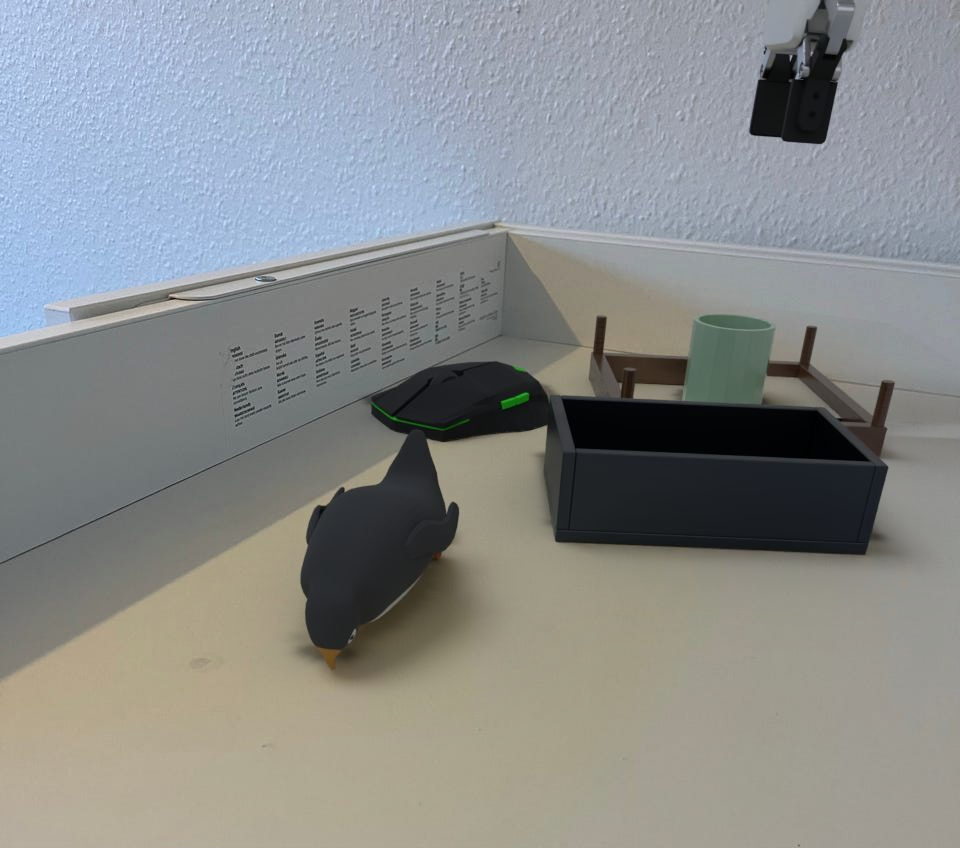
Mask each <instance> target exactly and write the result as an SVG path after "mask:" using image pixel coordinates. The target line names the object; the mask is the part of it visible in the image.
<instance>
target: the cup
mask: <svg viewBox="0 0 960 848" xmlns="http://www.w3.org/2000/svg"><path fill="white" fill-rule="evenodd" d="M692 322H693V323H692V327H691V336H690V341H689V342H690V343H689V350H688V355H687V356H688V362H687V368H686V375H685V382H684V385H683V389H682V396H681V401H698V402H720V403H741V404H762V403H763V398H764V393H765V387H766V382H767V377H768V376H767V372H768V366H769V361H770V360H771V355H772V349H773V345H774V339H775V335H776V334H775V333H776V328H777V325H776V324H775V323H774V322H772V321H770V320H767V319H763V318H760V317H756V316H750V315H743V314H735V313H706V314H699V315H696V316H695V317H694V318H693V321H692Z"/></svg>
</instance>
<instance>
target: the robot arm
mask: <svg viewBox="0 0 960 848" xmlns="http://www.w3.org/2000/svg"><path fill="white" fill-rule="evenodd" d="M867 4H868V0H767V3H766V10H765V15H764V22H763V31H762V43H763V45H764V50H763V55H764V56H763V58H762V62H761V64H760V67H759V72H758V79H757V83H756V87H755V94H754V95H755V96H754V100H753V105H752V111H751V117H750V122H749V127H748V132H749V135H751V136H753V137H765V138H767V137H768V138H778V139H779V138H780V139H781V140H782V141H783V142H786V143H797V144H809V145H811V144H812V145H823V144H824V143H825V142H826V140H827V137H828V132H829V127H830V123H831V118H832V115H833V114H832V113H833V108H834V103H835V98H836V95H837V90H838V86H839V85H838V84H839V80H840V78H841V74H842V69H843V55H844V54H846V53H849V52H851V51H852V50H853V49H854V48H855V47H856V46H857V45H858V43H859V41H860V40H861V39H860V38H861V34H862V31H863V25H864V19H865V14H866V13H865V12H866V9H867Z"/></svg>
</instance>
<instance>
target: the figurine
mask: <svg viewBox="0 0 960 848" xmlns="http://www.w3.org/2000/svg"><path fill="white" fill-rule="evenodd" d="M459 519H460V507H459V505H458V503H457V502H456V501H451V502H450V503H449V505H448V507H447V508H446V502H445V499H444V496H443V493H442V488H441V487H440V484H439V478H438V472H437V467H436V465H435V463H434V460H433V457H432V454H431V450H430V446H429V443H428V438H426V437H425V434H424V433H423V432H422V431H421V430H412V431H411V432H410V433H409V434H407V436H406V437H405V440H404V441H403V443H402V445H401V447H400V449H399V450H398V452H397V454H396V456H395V457H394V458H393V461H392V462H391V463H390V465H389V467H388V469H387V472H386V473H385V475H384V477H383V478H382V480H381V481H380V482H379V483H376V484H370V485H362V486H357V487H353V488H350V489H347V490H346V488H345V487H344V486H340V487H339V488H338V490H337V491H336V492H335V493H334V495H333V496H332V498H331V500H330V501H329V502H328V503H327V504H325V505H321V504H317V505H316V506H315V507H314V508H313V510H312V513H311V515H310V517H309V520H308V523H307V528H306V533H305V542H306V544H307V547H306V550H305V554H304V557H303V560H302V566H301V569H300V580H299V581H300V587H301V590H302V593H303V594H304V597H305V598H306V602H305V609H304V620H305V626H306V629H307V633H308V636H309V639H310V640H311V643H312V644H313V645H314V646H315V648H316V649H317V650H318V651H319V652H320V654H321V655H322V656H323V658H324V660H325V662H326V663H327V665H328V668H330V669H333V670H334V669H335V668H336V658H337V656H338V655H339V654H340V653H341V652H342V651H343V650H344V649H346V647H347V646H349V645H350V644H351V643H352V642H353V640H354V639H355V637H356V635H357V633H358V629H359V627H360V626H362V625H366V624H369V623H371V622H375V621H377V620H379V619H380V618H381V617H383V616H384V615H385V614H386V613H388V612H389V611H390V610H391V609H393V607H394V606H395V605H397V604H398V603H399V602H400V600H402V599H403V597H405V596H406V595H407V594H408V593H409V591H410V590H411V589H413V587H414V586H415V585H416V584H417V582H418V581H419V580H420V579H421V577H422V576H423V574H424V572H425V571H426V570H427V568H428V566H429V565H430V564H431V562H432V561H433V558H435V559H436V560H440V559H441V558H442V554H443V553H444V552H445V551H446V550H447V549H448V548H449V547H450V546H451V545H452V543H453V541H454V540H455V536H456V533H457V531H458V524H459Z"/></svg>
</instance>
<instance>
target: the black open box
mask: <svg viewBox="0 0 960 848" xmlns="http://www.w3.org/2000/svg"><path fill="white" fill-rule="evenodd" d="M837 418H838V417H836V416H834V415H833V414H832V413H831V412H830V411H829V410H828V409H827V408H826V407H824V406H804V405H802V406H801V405H785V404H784V405H781V404H780V405H779V404H741V403H720V402H698V401H682V400H674V399H656V398H655V399H654V398H634V397H633V398H612V397H596V396H589V395H588V396H587V395H565V394H564V395H563V394H550V395H549V412H548V424H546V440H545V449H544V450H545V451H544V463H543V478H544V482H545V490H546V495H547V501H548V506H549V512H550V513H549V514H550V518H551V525H552V531H553V537H554V541H555V542H569V543H593V544H611V545H612V544H614V545H638V546H660V547H661V546H662V547H682V548H685V547H686V548H706V549H707V548H708V549H709V548H710V549H730V550H751V551H752V550H753V551H756V550H757V551H777V552H779V551H780V552H801V553H822V554H823V553H826V554H848V555H866V554H867V551H868V548H869V543H870V541H871V537H872V533H873V529H874V525H875V521H876V517H877V513H878V510H879V506H880V502H881V498H882V494H883V490H884V487H885V483H886V478H887V476H888V471H889V466H888V465H887V464H886V463H885V462H884V460H882V459H881V457H880V458H879V457H878V456H877V455H875V454H874V453H873V452H872V451H871V450H870V449H869V448H868V447H867V446H866V445H865V444H864V443H863V442H861V441H860V440H859V439H858V438H857V437H856V436H855V435H854V434H853V433H852V432H851V431H850V430H848V429H847V428H846V427H845V426H844V425H843V424H842V423H841V422H840V421H839V420H838V419H837Z"/></svg>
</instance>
